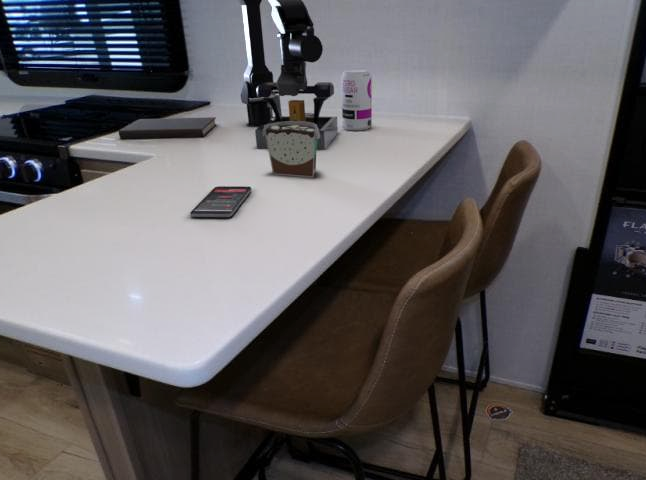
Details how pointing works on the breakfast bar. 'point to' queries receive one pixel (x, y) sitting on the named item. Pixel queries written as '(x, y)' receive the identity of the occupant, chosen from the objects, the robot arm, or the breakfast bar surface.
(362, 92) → the supplement can
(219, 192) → the smartphone
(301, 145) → the food container
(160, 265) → the breakfast bar surface
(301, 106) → the supplement box
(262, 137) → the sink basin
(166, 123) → the hardcover book
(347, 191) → the breakfast bar surface
